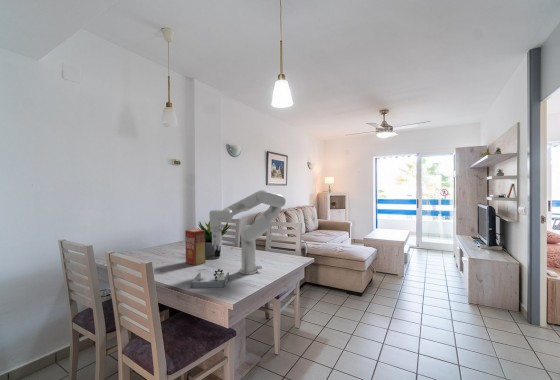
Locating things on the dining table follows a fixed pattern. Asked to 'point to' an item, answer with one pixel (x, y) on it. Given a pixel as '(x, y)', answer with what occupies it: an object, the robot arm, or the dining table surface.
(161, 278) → the dining table surface
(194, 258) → the food packaging
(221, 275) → the valve
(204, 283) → the tray frame
